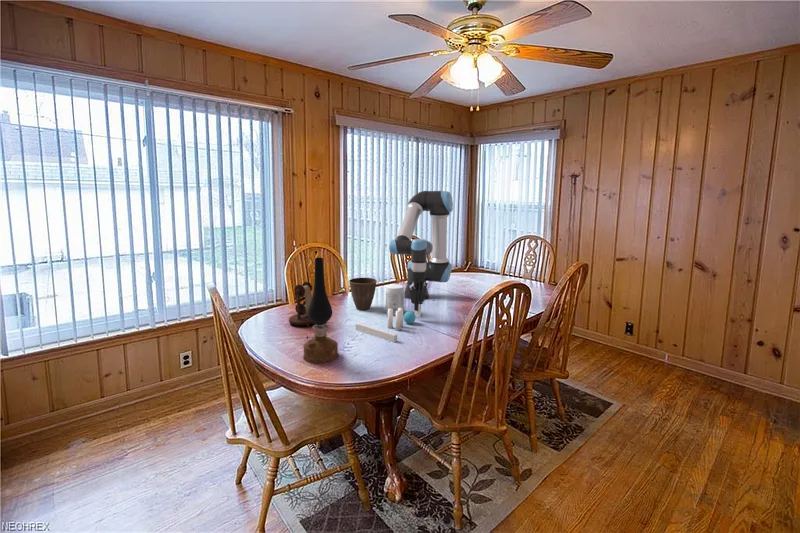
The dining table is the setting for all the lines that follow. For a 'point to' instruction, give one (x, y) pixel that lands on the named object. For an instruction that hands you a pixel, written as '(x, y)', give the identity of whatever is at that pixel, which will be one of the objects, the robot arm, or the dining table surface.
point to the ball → (409, 317)
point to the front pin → (401, 315)
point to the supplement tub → (394, 297)
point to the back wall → (376, 332)
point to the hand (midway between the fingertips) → (417, 316)
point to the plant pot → (363, 292)
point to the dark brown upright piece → (302, 305)
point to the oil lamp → (320, 322)
